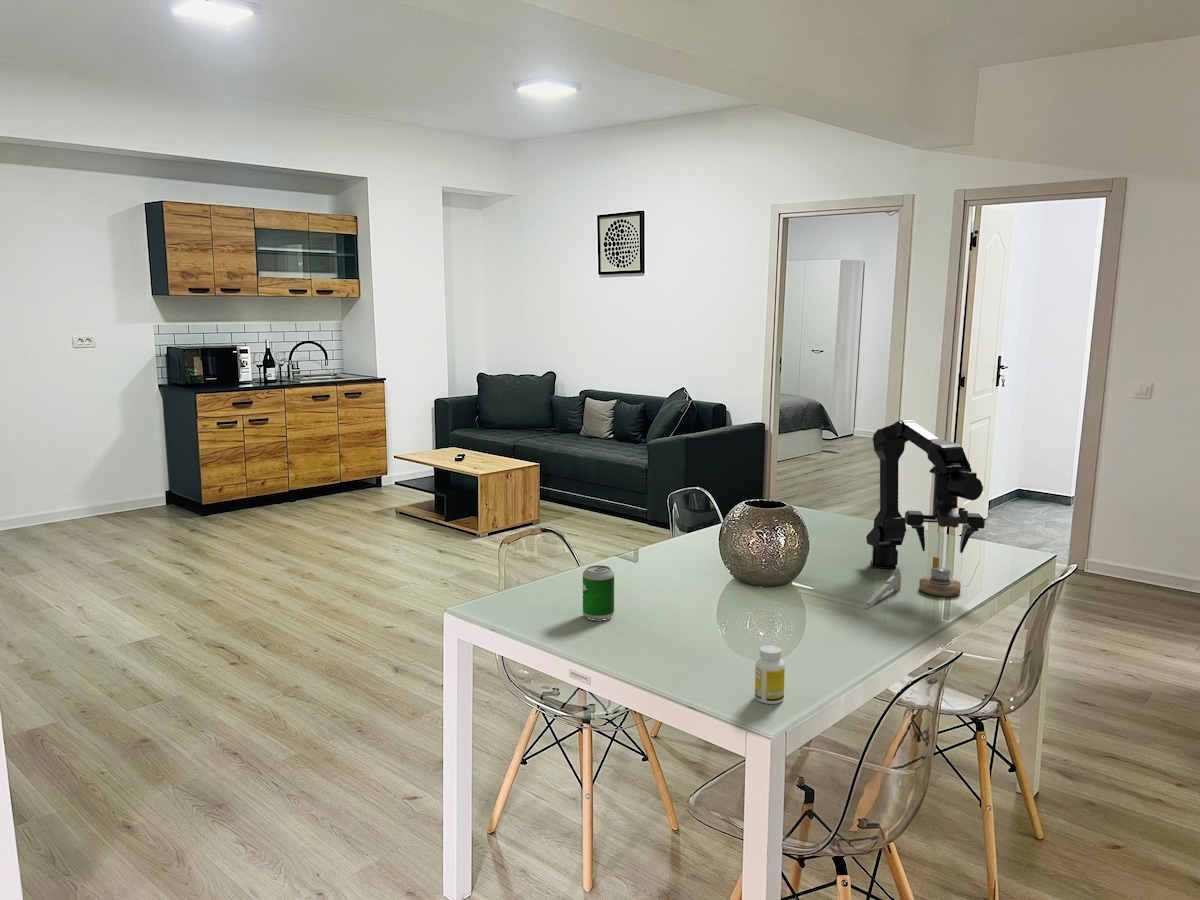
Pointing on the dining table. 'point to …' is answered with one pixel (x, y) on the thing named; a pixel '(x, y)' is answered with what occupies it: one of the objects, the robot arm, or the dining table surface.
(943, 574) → the cover
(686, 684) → the dining table surface
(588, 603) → the soda can
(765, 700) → the supplement bottle
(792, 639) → the dining table surface
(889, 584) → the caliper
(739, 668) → the dining table surface
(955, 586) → the turntable
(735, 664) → the dining table surface
